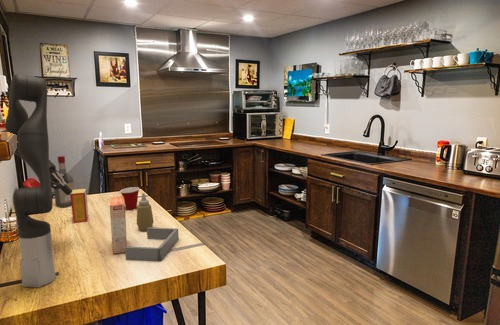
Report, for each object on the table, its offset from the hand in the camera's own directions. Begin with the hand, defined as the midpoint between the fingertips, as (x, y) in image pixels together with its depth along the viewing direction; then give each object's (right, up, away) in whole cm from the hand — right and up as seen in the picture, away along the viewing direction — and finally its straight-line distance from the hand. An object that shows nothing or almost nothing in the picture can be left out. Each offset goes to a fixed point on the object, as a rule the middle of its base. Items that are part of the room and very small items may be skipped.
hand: (70, 193), depth 145 cm
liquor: (-36, -13, +63) cm, 74 cm away
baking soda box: (-14, -18, +37) cm, 43 cm away
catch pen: (+35, -23, 0) cm, 42 cm away
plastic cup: (+6, -14, +56) cm, 58 cm away
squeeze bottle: (+25, -20, +23) cm, 39 cm away
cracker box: (+21, -23, +2) cm, 31 cm away
